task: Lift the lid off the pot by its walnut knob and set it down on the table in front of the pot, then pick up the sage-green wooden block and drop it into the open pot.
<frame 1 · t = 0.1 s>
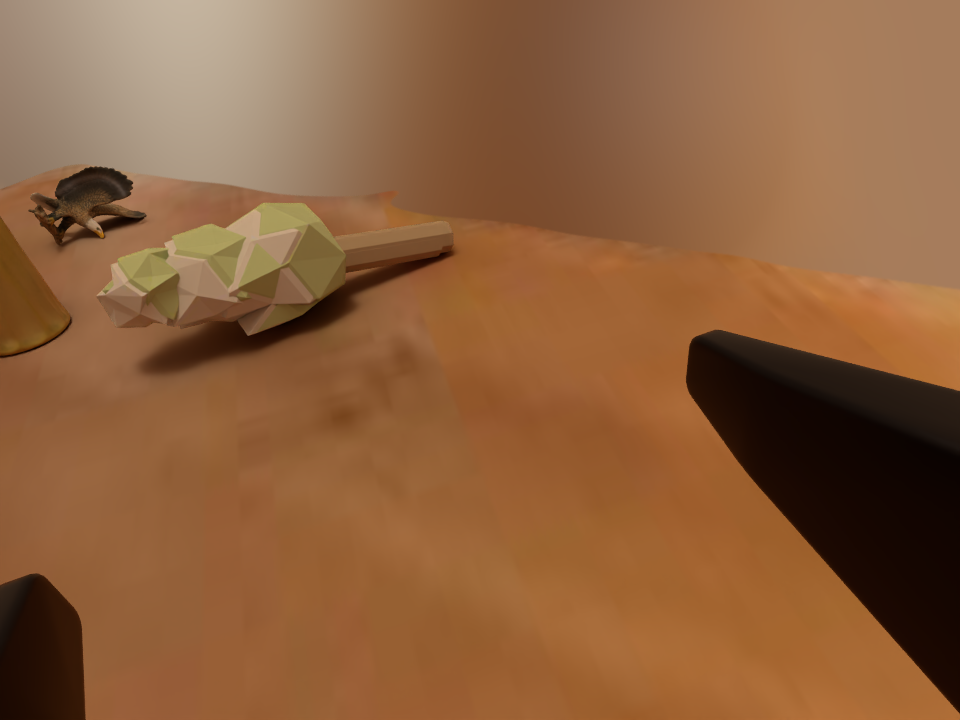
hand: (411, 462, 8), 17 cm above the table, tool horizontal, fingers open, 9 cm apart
vase: (30, 336, 48), on the table
decorative object: (310, 305, 46), on the table
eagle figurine: (101, 233, 64), on the table
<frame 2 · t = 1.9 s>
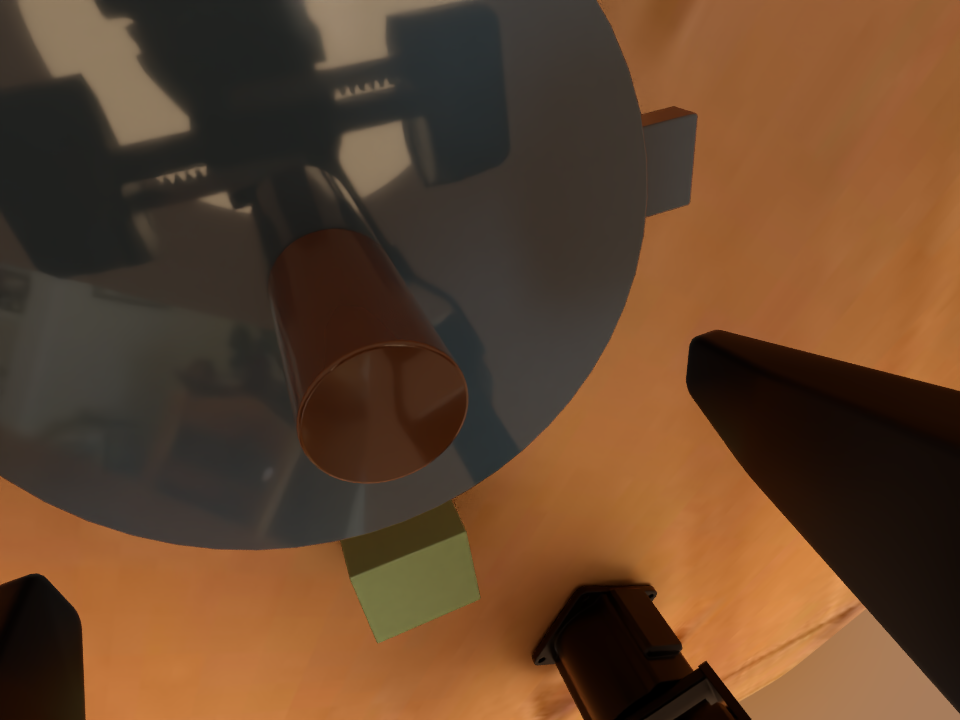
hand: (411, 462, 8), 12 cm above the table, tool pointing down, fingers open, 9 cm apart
lid: (329, 278, 13), point 6 cm above the table, touching pot
block: (391, 507, 26), on the table
pot: (291, 186, 18), on the table
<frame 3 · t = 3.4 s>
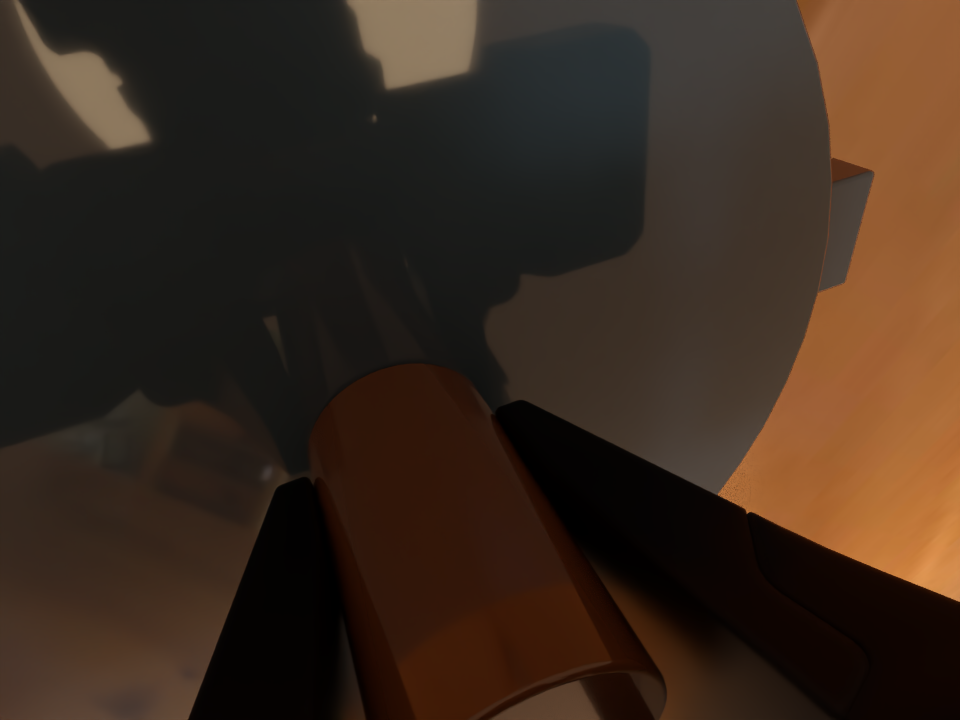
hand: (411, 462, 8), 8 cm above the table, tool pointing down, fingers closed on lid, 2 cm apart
lid: (391, 417, 9), point 7 cm above the table, touching pot, gripper
pot: (321, 251, 14), on the table
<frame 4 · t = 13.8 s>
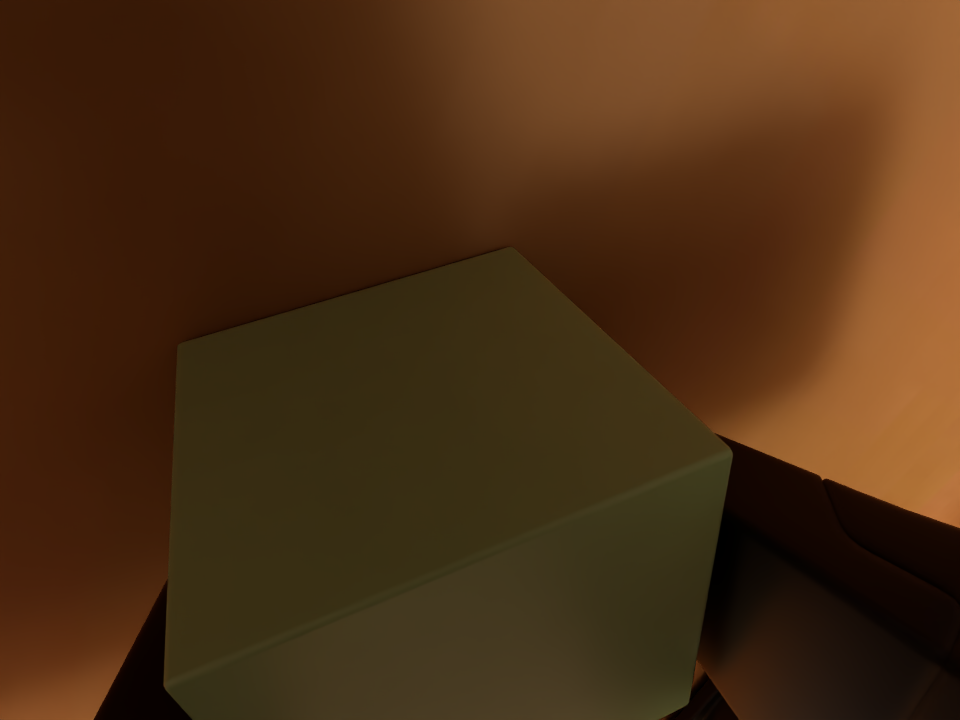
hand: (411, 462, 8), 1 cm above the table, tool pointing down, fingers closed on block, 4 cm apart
block: (390, 418, 9), on the table, touching gripper
when the fingers open (7 cm above the table, at t = 18.2 s): block drops 5 cm, resting on pot.
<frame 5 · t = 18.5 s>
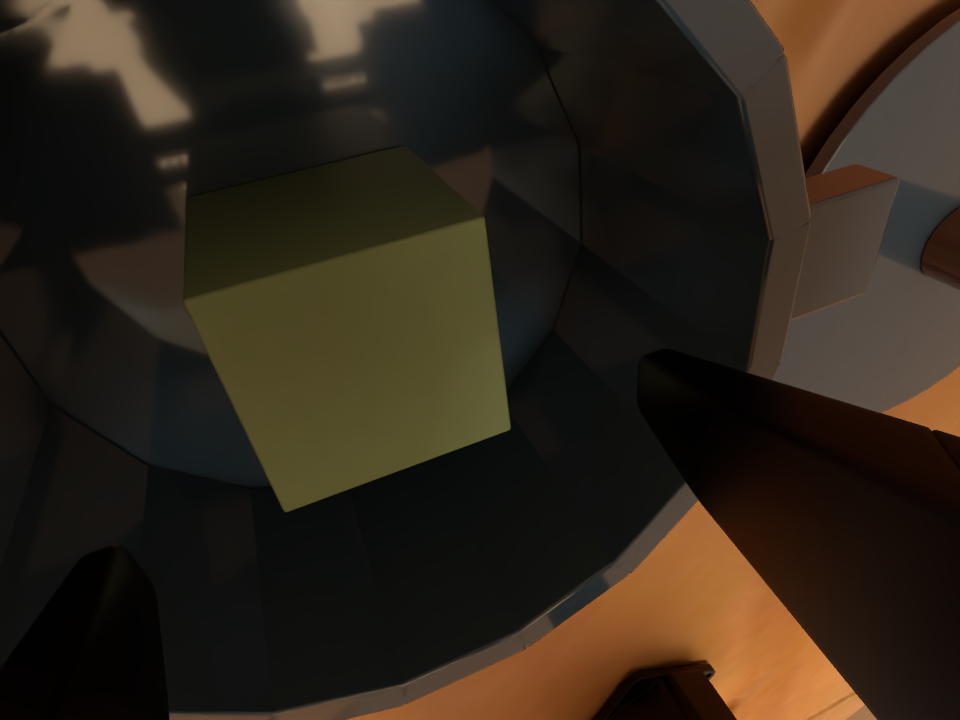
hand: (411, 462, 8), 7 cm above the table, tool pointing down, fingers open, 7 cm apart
lid: (937, 235, 20), point 1 cm above the table
block: (329, 268, 13), point 1 cm above the table, touching pot
pot: (324, 259, 14), on the table
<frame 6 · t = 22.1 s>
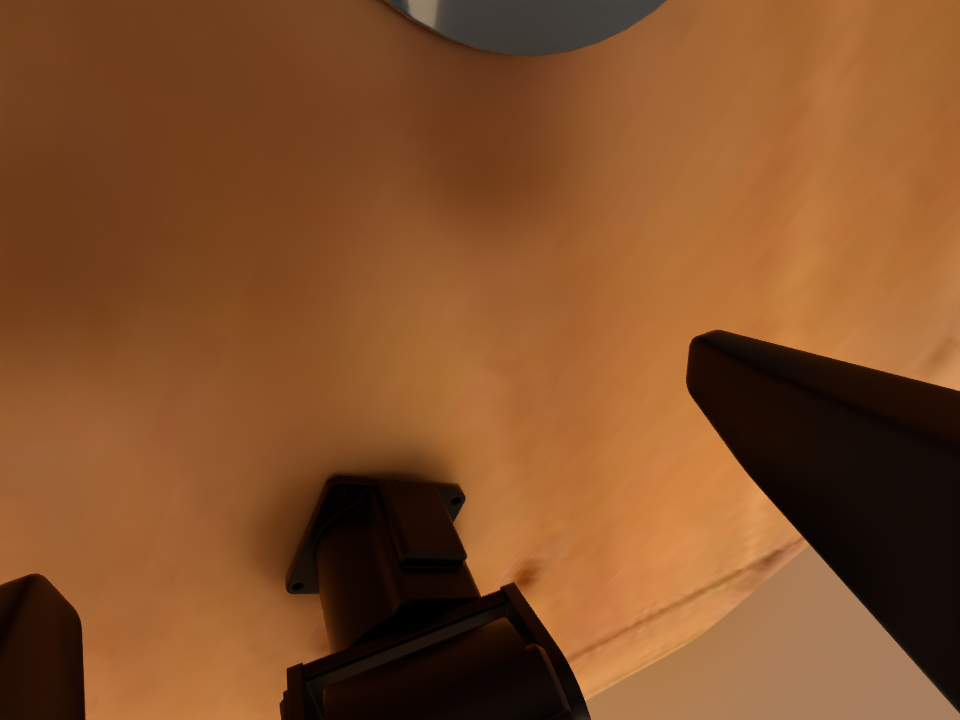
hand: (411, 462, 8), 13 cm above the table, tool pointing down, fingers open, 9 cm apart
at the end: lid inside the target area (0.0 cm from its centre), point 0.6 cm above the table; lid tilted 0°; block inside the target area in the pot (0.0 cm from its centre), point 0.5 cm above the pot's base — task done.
